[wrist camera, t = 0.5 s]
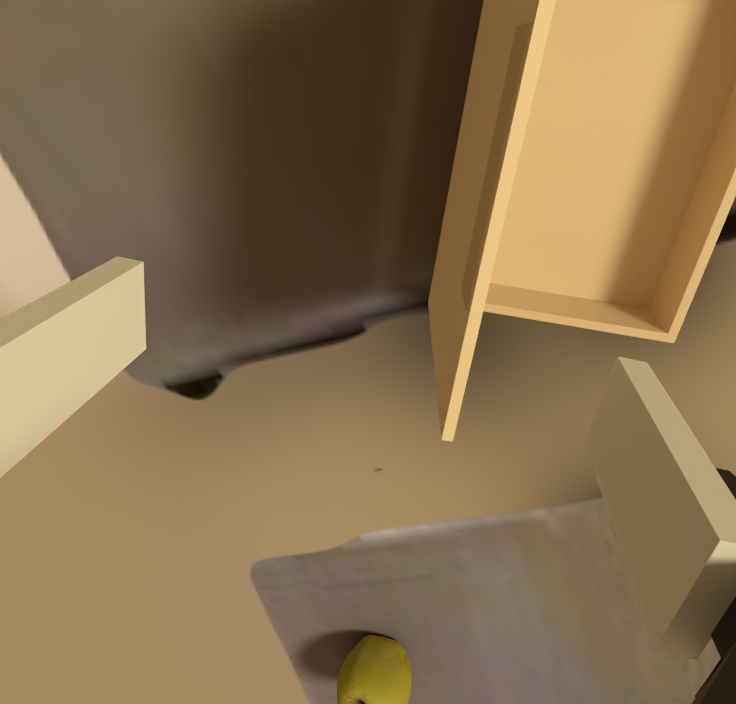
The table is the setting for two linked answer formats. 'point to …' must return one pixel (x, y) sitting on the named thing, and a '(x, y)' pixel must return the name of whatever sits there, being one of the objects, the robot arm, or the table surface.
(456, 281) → the lid
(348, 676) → the apple
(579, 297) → the box
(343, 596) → the table surface
